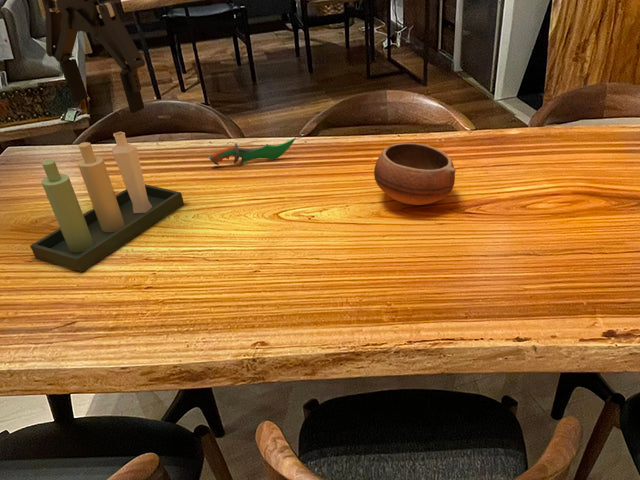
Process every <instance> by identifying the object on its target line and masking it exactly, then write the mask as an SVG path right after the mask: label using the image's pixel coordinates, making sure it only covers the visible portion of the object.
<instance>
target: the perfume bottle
mask: <svg viewBox="0 0 640 480" xmlns="http://www.w3.org/2000/svg"><path fill="white" fill-rule="evenodd" d="M112 135H113V137H114V139H115V142H116V144H115V145H113V146H112V147H111V150H112V151H111V153H112V155H113V158H114V160H115V163H116V166H117V167H118V171H119V173H120V175H121V178H122V181H123V183H124V186H125V188H126V189H127V191H128V194H129V196H130V199H131V201H132V204H133V213H146V212H147V211H148V210H150V209H151V208H152V206H151V204H150V202H149V201H148V197H147V193H146V188H145V184H146V183H145V179H144V174H143V170H142V166H141V161H140V157H139V152H138V147H137V146H136V145H134V144H131V143H128V141H127V138H126V132H123V131H117V132H114V133H113V134H112Z"/></svg>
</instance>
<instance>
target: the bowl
mask: <svg viewBox="0 0 640 480" xmlns="http://www.w3.org/2000/svg"><path fill="white" fill-rule="evenodd" d="M456 171H457V170H456V168H455V166H454V162H453V159H451V157H450V156H449V155H448V154H447V153H446V152H444V151H443V150H441V149H439V148H438V147H434V146H431V145H428V144H426V143H419V142H398V143H393V144H391V145H388V146H386V147H385V148H384V149H382V151H381V152H380V154H379V156H378V157H377V159H376V162H375V165H374V170H373V176H374V180H375V183H376V184H377V186H378V188H379V189H380V190H381V192H383V193H384V194H386V195H387V196H389V197H390V198H392V199H394V200H395V201H397V202H400V203H404V204H407V205H412V206H421V205H422V206H423V205H429V204H434V203H436V202H439V201H441V200H443V199H444V198H445V197H447V196H448V195H449V194H450V193H452V191H453V189H454V186H455V180H456Z"/></svg>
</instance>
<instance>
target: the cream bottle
mask: <svg viewBox="0 0 640 480" xmlns="http://www.w3.org/2000/svg"><path fill="white" fill-rule="evenodd" d="M78 148H79V151H80V154H81V157H82V158H80V159H79V160H78V161H77V163H76V164H77V166H78V169H79V172H80V176H81V178H82V180H83V183H84V187H85V188H86V192H87V194H88V197H89V200H90V203H91V205H92V209H93V208H94V211H95V213H96V216H97V219H98V222H99V224H100V227H101V230H102V231H104V232H115V231H118V230H119V229H121V228H122V227H124V226H125V223H124V220H123V217H122V214H121V211H120V208H119V205H118V202H117V199H116V196H115V195H116V193H115V189H114V186H113V184H112V181H111V178H110V175H109V172H108V168H107V165H106V163H105V160H104V158H103V157H102V156H98V155H95V153H94V150H93V147H92V144H91V142H88V141H84V142H80V143H79V144H78Z"/></svg>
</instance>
